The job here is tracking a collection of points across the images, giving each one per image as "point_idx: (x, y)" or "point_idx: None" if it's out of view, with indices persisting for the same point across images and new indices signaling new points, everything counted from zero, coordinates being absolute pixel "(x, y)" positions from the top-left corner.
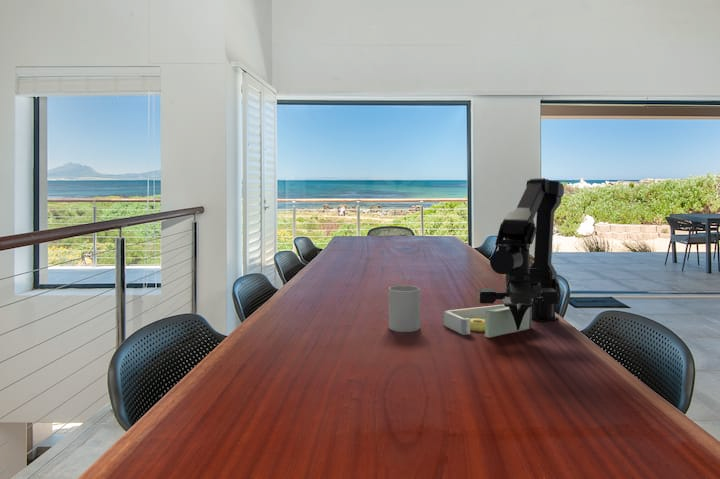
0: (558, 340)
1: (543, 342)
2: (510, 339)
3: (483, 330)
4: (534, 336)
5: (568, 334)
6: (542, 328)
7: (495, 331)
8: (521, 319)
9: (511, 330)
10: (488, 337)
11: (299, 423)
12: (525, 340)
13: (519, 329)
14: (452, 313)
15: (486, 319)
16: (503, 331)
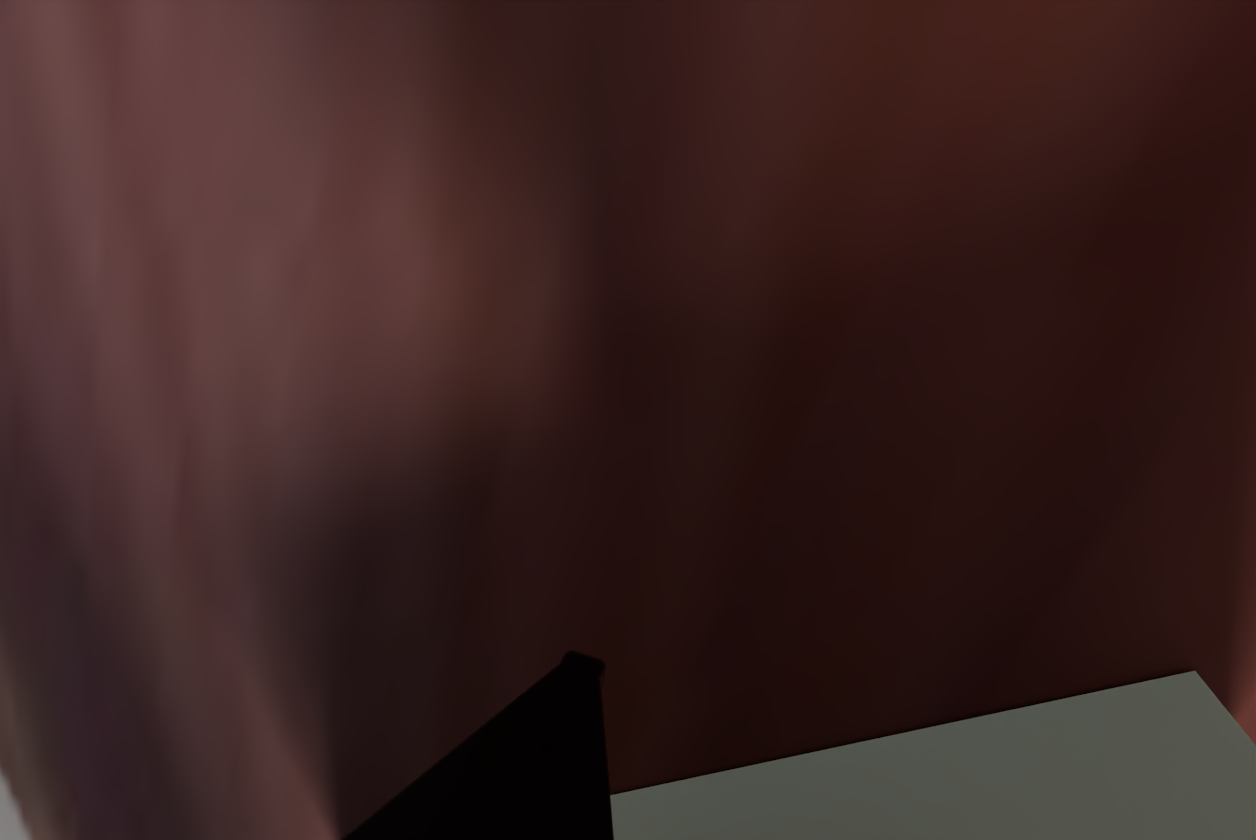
0: (108, 382)
1: (303, 309)
2: (785, 519)
3: None
4: (372, 588)
5: (6, 583)
6: (234, 816)
7: (1015, 790)
8: (405, 815)
9: (630, 819)
10: (1194, 674)
11: None
12: (547, 436)
13: None
14: None
15: None
16: (797, 797)
